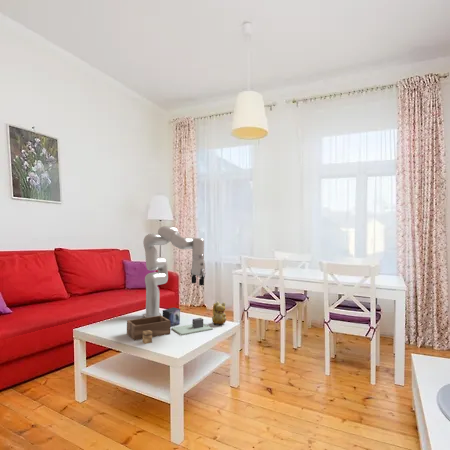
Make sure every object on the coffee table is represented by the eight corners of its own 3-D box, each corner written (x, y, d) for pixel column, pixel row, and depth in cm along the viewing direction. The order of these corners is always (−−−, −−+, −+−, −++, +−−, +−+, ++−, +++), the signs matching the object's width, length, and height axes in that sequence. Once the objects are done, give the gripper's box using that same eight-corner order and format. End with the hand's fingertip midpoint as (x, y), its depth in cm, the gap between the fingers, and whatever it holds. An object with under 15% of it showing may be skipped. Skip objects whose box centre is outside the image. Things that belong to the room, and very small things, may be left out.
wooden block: (149, 340, 183) (149, 329, 183) (152, 342, 180) (152, 331, 180) (142, 341, 181) (142, 331, 181) (145, 344, 177) (145, 333, 177)
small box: (168, 328, 206) (168, 311, 206) (161, 326, 210) (161, 310, 210) (180, 324, 215) (180, 308, 215) (173, 322, 219) (173, 307, 219)
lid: (171, 330, 204) (171, 319, 204) (201, 324, 216) (202, 315, 216) (181, 336, 192) (181, 325, 192) (212, 330, 205) (213, 320, 205)
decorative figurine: (226, 322, 219) (227, 300, 220) (225, 326, 211) (225, 303, 211) (212, 322, 221) (213, 300, 221) (210, 325, 212) (211, 303, 213)
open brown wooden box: (126, 333, 194) (126, 320, 194) (160, 327, 206) (161, 315, 206) (134, 340, 182) (134, 326, 182) (170, 333, 195) (170, 320, 195)
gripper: (210, 258, 202) (209, 285, 202) (196, 256, 216) (196, 281, 216) (199, 258, 198) (199, 286, 197) (186, 256, 212) (186, 282, 212)
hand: (197, 284), depth 207 cm, fingers open, 9 cm apart
